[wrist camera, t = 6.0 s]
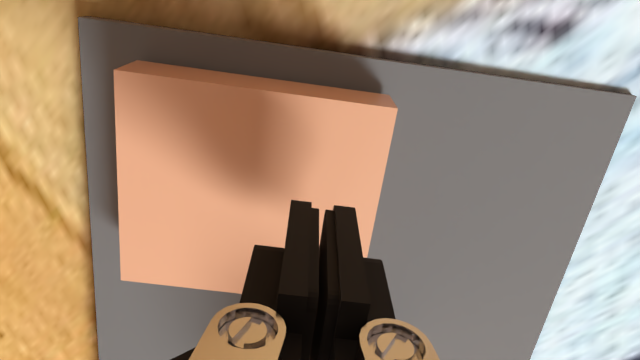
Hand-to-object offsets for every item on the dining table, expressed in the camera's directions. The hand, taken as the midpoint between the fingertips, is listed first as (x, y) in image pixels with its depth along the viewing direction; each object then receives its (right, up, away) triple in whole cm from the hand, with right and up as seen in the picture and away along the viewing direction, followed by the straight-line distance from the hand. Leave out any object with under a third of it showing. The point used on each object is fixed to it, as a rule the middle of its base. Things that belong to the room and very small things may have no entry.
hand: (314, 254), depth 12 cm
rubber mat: (0, -2, +7) cm, 7 cm away
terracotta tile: (+2, +1, +3) cm, 4 cm away
